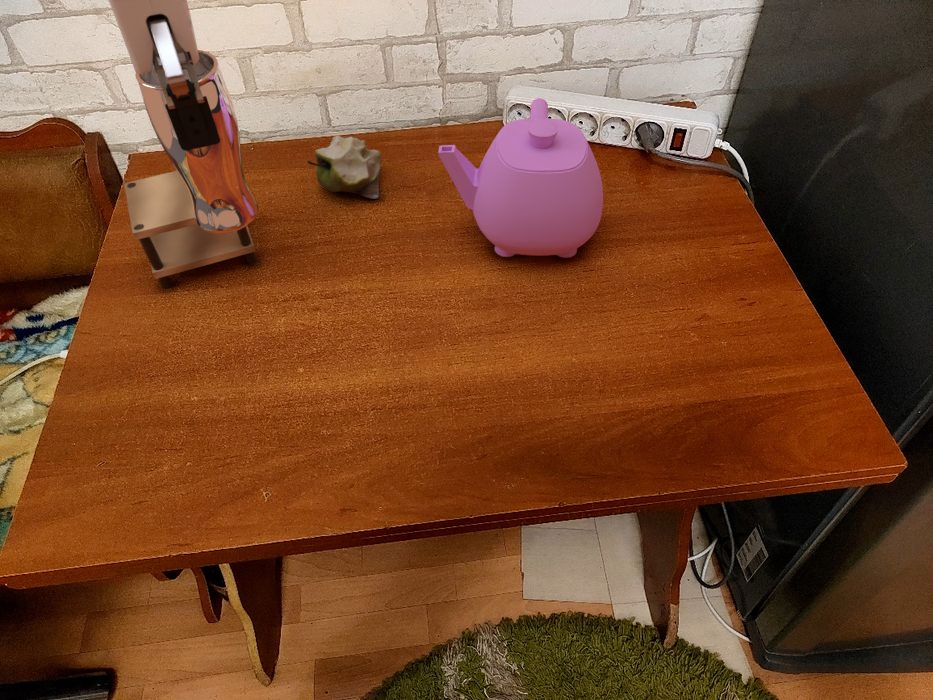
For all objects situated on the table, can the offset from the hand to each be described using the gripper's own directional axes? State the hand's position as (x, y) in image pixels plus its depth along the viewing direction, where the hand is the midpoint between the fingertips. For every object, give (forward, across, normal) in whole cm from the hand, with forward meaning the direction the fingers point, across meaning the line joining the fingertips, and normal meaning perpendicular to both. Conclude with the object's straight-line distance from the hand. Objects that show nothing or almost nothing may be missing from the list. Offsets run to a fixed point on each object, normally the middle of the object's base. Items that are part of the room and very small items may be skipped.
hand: (194, 120), depth 60 cm
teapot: (+26, -4, +35) cm, 43 cm away
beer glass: (+10, 0, 0) cm, 10 cm away
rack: (+26, -15, -5) cm, 30 cm away
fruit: (+26, -21, +16) cm, 37 cm away
